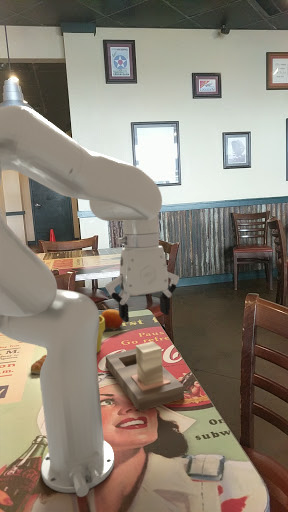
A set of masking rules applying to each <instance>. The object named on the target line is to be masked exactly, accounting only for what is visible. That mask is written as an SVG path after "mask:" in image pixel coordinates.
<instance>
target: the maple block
mask: <svg viewBox="0 0 288 512" xmlns="http://www.w3.org/2000/svg"><path fill="white" fill-rule="evenodd" d="M135 349H136V360H137V374H138V378H139V379H140V380H141V382H142V383H143V384H144V385H145V386H147V385H151V384H154V383H158V382H161V381H163V367H164V366H163V352H162V347H161V346H159V345H158V344H157V343H155V341H148V342H144V343H141V344H136V345H135ZM162 366H163V367H162Z"/></svg>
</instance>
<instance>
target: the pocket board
mask: <svg viewBox="0 0 288 512" xmlns="http://www.w3.org/2000/svg"><path fill="white" fill-rule="evenodd" d="M104 358H105V366H106V368H107V369H108V371H109V372H110V373H111V375H112V376H113V378H114V379H115V381H116V382H117V383H118V384H119V386H120V387H121V389H122V391H123V392H125V394H126V395H127V397H128V398H129V400H130V401H131V403H132V404H133V405H134V407H135V408H136V409H137V411H138V412H143V411H146V410H149V409H154V408H155V407H160V406H163V405H166V404H170V403H172V402H176V401H179V400H180V401H181V400H182V399H185V388H184V387H185V386H184V385H183V384H182V383H181V382H180V381H179V380H178V379H177V378H176V377H175V376H174V375H173V374H171V372H170V371H168V369H166V367H164V366H163V365H162V367H163V381H161V382H158V383H154V384H151V385H147V386H145V385H144V384H143V383H142V382H141V380H140V379H139V378H138V374H137V360H136V348H133V349H128V350H125V351H121V352H115V353H111V354H107V355H105V357H104Z"/></svg>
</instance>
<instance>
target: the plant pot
mask: <svg viewBox="0 0 288 512" xmlns="http://www.w3.org/2000/svg"><path fill="white" fill-rule="evenodd" d="M104 331H106V330H105V320H104V317H102V316H101V315H100V314H99V329H98V338H97V354H98V353H99V352H100V351H101V349H102V341H103V334H104Z"/></svg>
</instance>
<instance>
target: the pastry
mask: <svg viewBox="0 0 288 512" xmlns="http://www.w3.org/2000/svg"><path fill="white" fill-rule="evenodd" d="M46 356H47V354H43V356H41V357H40V358H39V359H38V360H36V361H35V362H34V363H33V364H31V366H30V373H32V374H35V375H40V371H41V367H42V365H43V363H44V361H45V359H46Z"/></svg>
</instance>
